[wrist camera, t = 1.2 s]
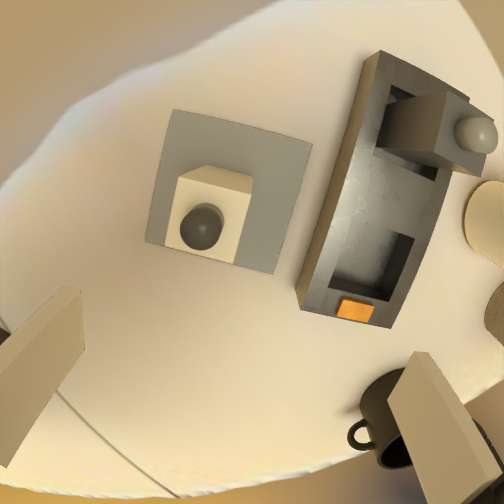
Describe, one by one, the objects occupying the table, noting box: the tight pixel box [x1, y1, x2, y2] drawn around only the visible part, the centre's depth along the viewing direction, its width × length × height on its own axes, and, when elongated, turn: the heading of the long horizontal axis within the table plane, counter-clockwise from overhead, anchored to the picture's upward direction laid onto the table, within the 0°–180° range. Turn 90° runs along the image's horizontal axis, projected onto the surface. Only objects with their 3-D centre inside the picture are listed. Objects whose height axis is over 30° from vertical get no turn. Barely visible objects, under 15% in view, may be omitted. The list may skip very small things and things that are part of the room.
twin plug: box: [375, 90, 498, 177], centre depth 18 cm, size 4×4×12 cm
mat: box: [145, 109, 313, 275], centre depth 27 cm, size 12×12×1 cm
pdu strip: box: [295, 50, 470, 329], centre depth 25 cm, size 22×9×5 cm, turn 165°
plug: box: [165, 165, 253, 264], centre depth 21 cm, size 4×4×12 cm
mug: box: [347, 369, 413, 470], centre depth 31 cm, size 9×12×9 cm
